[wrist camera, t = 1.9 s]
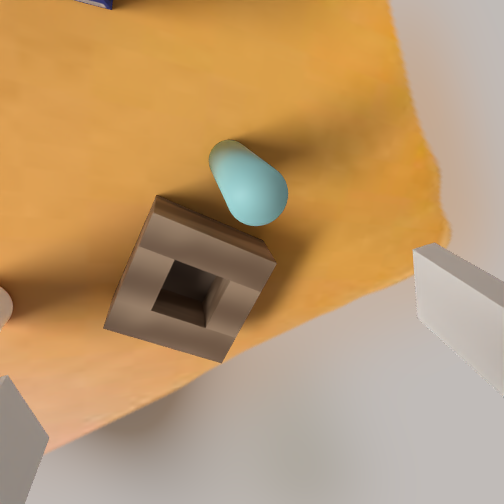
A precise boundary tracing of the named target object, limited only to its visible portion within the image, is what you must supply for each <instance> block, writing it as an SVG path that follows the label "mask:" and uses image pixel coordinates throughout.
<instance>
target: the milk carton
mask: <svg viewBox="0 0 504 504" xmlns="http://www.w3.org/2000/svg"><path fill="white" fill-rule="evenodd" d="M75 1H79V2H83V3H87V4H91V5H95V6H98V7H102V8H106V9H110V10H112V2H113V0H75Z"/></svg>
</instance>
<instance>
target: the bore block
mask: <svg viewBox="0 0 504 504" xmlns="http://www.w3.org/2000/svg"><path fill="white" fill-rule="evenodd" d="M276 264H277V263H276V261H275V259H274V258H273V256H272V254H271V253H270V251H269V249H268V248H267V246H266V244H265V243H264V241H263V240H260V239H258V238H256V237H253V236H251V235H249V234H246V233H244V232H242V231H239V230H237V229H235V228H232V227H230V226H228V225H225V224H223V223H221V222H218V221H216V220H214V219H211V218H209V217H207V216H204V215H202V214H200V213H197V212H195V211H193V210H190V209H188V208H186V207H183V206H181V205H179V204H176V203H174V202H172V201H169V200H167V199H165V198H162V197H160V196H158V195H156V198H155V200H154V202H153V205H152V207H151V209H150V212H149V214H148V216H147V219H146V221H145V223H144V226H143V228H142V230H141V233H140V235H139V237H138V240H137V242H136V244H135V247H134V249H133V251H132V254H131V256H130V258H129V261H128V263H127V265H126V268H125V270H124V272H123V275H122V277H121V279H120V282H119V284H118V286H117V289H116V291H115V293H114V296H113V298H112V302H111V305H110V308H109V311H108V314H107V318H106V321H105V324H104V327H103V329H107V330H110V331H114V332H117V333H120V334H124V335H127V336H131V337H134V338H137V339H141V340H144V341H148V342H151V343H154V344H158V345H161V346H165V347H168V348H171V349H175V350H178V351H182V352H185V353H189V354H192V355H195V356H199V357H202V358H206V359H209V360H212V361H216V362H219V363H222V362H223V360H224V358H225V356H226V354H227V353H228V351H229V349H230V347H231V345H232V344H233V342H234V340H235V338H236V336H237V334H238V333H239V331H240V329H241V327H242V325H243V324H244V322H245V320H246V318H247V316H248V315H249V313H250V311H251V309H252V307H253V306H254V304H255V302H256V300H257V298H258V297H259V295H260V293H261V291H262V289H263V288H264V286H265V284H266V282H267V280H268V278H269V277H270V275H271V273H272V271H273V269H274V268H275V266H276Z"/></svg>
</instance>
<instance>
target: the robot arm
mask: <svg viewBox="0 0 504 504" xmlns="http://www.w3.org/2000/svg"><path fill="white" fill-rule="evenodd" d="M413 261H414V276H415V289H416V305H417V318H418V319H419V320H420V321H421V322H422V323H423V324H424V325H425V326H427V327H428V328H429V329H430V330H431V331H432V332H433V333H434V334H435V335H436V336H437V337H438V338H440V339H441V340H442V341H443V342H444V343H445V344H446V345H447V346H448V347H449V348H450V349H451V350H453V351H454V352H455V353H456V354H457V355H458V356H459V357H460V358H461V359H462V360H464V361H465V362H466V363H467V364H468V365H469V366H470V367H471V368H472V369H473V370H474V371H476V373H478V374H479V375H480V376H481V377H482V378H483V379H484V380H485V381H486V382H487V383H488V384H490V385H491V386H492V387H493V388H494V389H495V390H496V391H497V392H498V393H499V394H501V395H502V396H503V397H504V282H503V281H501V280H499V279H498V278H496V277H494V276H493V275H491V274H489V273H487V272H485V271H484V270H482V269H480V268H478V267H476V266H475V265H473V264H471V263H470V262H468V261H466V260H464V259H462V258H460V257H459V256H457V255H455V254H454V253H452V252H450V251H448V250H447V249H445V248H443V247H441V246H439V245H438V244H436V243H432V244H428V245H425V246H422V247H419V248H416V249H413ZM48 440H49V436H48V435H47V433H46V432H45V430H44V429H43V427H42V426H41V424H40V423H39V421H38V420H37V418H36V417H35V415H34V414H33V412H32V411H31V409H30V408H29V406H28V405H27V403H26V402H25V400H24V399H23V397H22V396H21V394H20V393H19V391H18V390H17V388H16V387H15V385H14V384H13V382H12V381H11V379H10V378H9V376H8V375H6V376H2V377H0V504H25V501H26V499H27V496H28V493H29V491H30V488H31V485H32V483H33V480H34V477H35V474H36V472H37V469H38V467H39V464H40V461H41V459H42V456H43V453H44V451H45V448H46V445H47V443H48Z"/></svg>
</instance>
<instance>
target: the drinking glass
mask: <svg viewBox="0 0 504 504" xmlns="http://www.w3.org/2000/svg"><path fill="white" fill-rule="evenodd" d="M12 312H13V302H12V299H11V297H10V295H9V294H8V293H7V292H6V291H5V290H4V289H3V288H2V287H0V332H1V330H2V329H3V327H4V325H5V324H6V323H7V321H8V320H9V319H10V317H11V315H12Z"/></svg>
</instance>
